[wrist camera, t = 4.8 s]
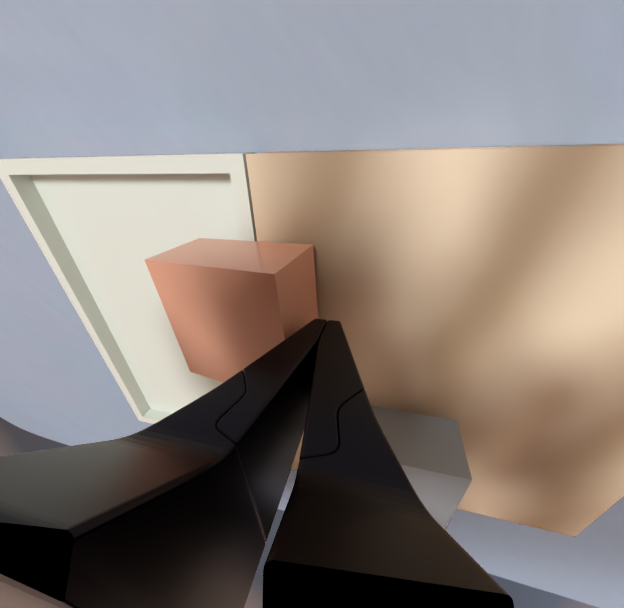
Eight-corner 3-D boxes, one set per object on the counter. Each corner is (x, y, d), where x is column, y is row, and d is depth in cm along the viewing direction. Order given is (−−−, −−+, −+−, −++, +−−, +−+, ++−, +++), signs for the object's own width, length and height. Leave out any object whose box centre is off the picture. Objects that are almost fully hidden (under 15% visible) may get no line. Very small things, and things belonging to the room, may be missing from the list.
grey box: (457, 420, 12) (472, 480, 10) (433, 478, 14) (441, 535, 12) (345, 400, 13) (337, 450, 11) (341, 458, 15) (334, 507, 13)
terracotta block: (312, 244, 9) (274, 274, 7) (321, 359, 11) (295, 405, 9) (199, 237, 11) (144, 259, 9) (228, 337, 13) (190, 371, 11)
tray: (256, 152, 10) (242, 153, 9) (289, 438, 19) (284, 454, 18) (21, 158, 13) (-11, 159, 12) (150, 407, 22) (139, 420, 21)
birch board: (883, 137, 6) (1054, 136, 5) (554, 495, 16) (574, 537, 14) (269, 152, 10) (245, 153, 8) (296, 439, 19) (287, 467, 17)
